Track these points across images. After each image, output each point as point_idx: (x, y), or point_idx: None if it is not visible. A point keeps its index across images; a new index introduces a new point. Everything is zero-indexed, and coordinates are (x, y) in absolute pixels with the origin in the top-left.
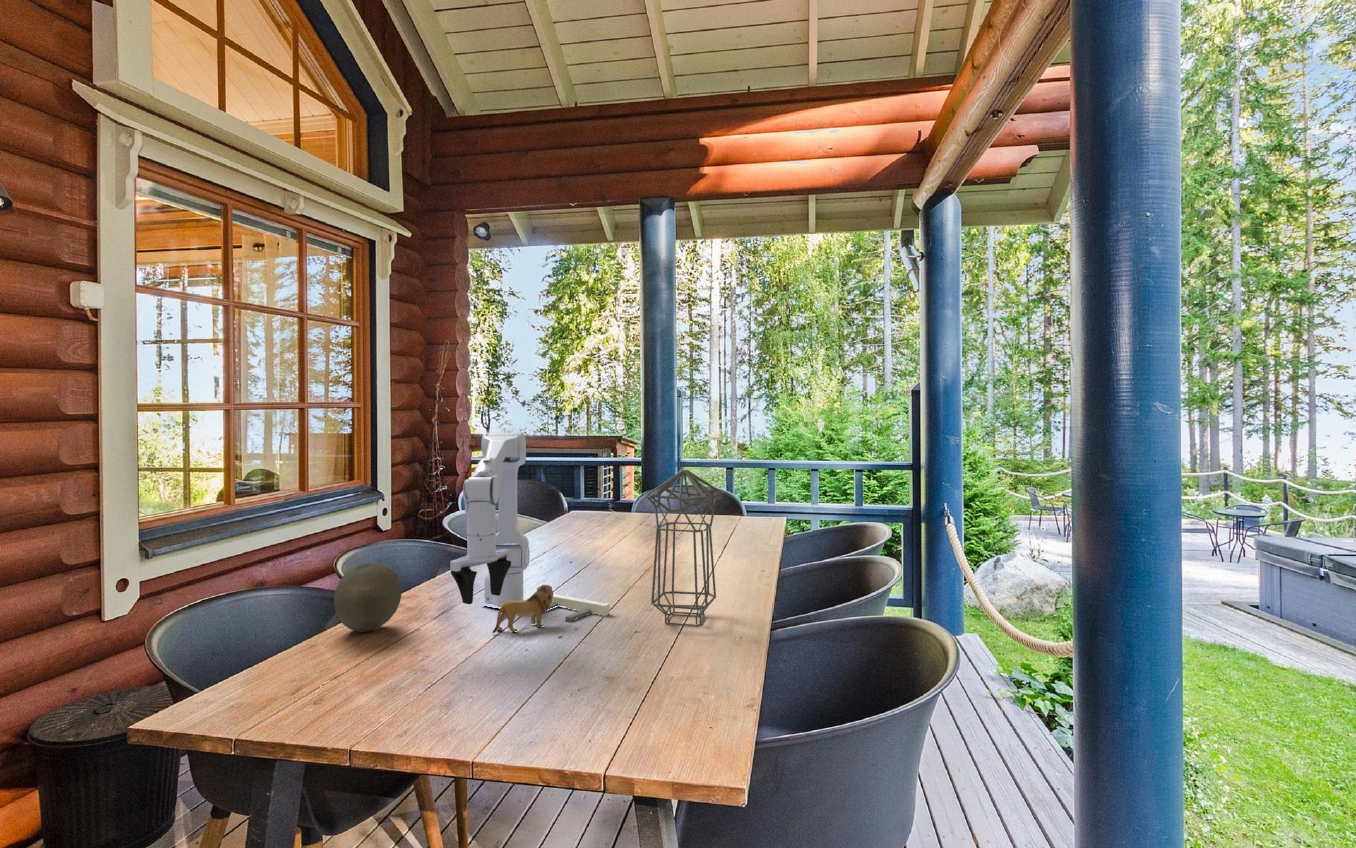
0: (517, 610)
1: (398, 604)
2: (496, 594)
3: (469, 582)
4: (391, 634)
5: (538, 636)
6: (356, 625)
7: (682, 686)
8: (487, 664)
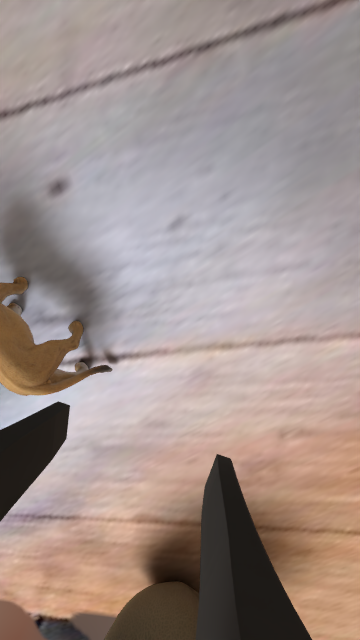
0: (27, 343)
1: (141, 622)
2: (65, 416)
3: (288, 616)
4: (180, 547)
5: (78, 252)
6: None
7: None
8: (310, 266)
